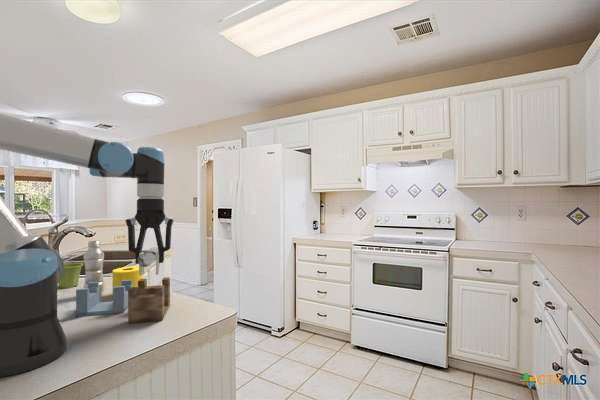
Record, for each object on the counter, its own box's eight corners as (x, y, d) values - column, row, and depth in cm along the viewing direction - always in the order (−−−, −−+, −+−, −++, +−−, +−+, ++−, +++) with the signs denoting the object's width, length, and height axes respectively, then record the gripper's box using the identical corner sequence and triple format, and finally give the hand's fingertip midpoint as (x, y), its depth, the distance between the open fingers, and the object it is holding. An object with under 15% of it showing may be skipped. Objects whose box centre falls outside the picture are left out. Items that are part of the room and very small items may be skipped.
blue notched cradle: (123, 312, 94) (123, 286, 94) (76, 316, 91) (76, 289, 91) (132, 303, 103) (132, 279, 103) (89, 306, 100) (89, 282, 100)
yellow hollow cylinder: (118, 300, 106) (118, 273, 106) (108, 294, 113) (108, 269, 113) (147, 293, 114) (147, 268, 114) (136, 288, 120) (136, 265, 120)
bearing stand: (170, 305, 100) (170, 277, 100) (162, 320, 88) (162, 287, 88) (140, 308, 98) (140, 278, 98) (128, 323, 86) (128, 290, 86)
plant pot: (82, 282, 131) (82, 262, 131) (83, 286, 123) (84, 265, 123) (54, 285, 125) (54, 264, 125) (54, 291, 117) (54, 268, 117)
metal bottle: (92, 298, 108) (92, 242, 108) (78, 296, 110) (78, 242, 110) (108, 293, 114) (108, 240, 114) (95, 291, 116) (95, 239, 116)
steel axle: (152, 266, 88) (152, 252, 88) (137, 267, 87) (137, 253, 87) (160, 259, 99) (161, 247, 99) (147, 259, 98) (147, 247, 98)
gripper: (181, 198, 99) (180, 270, 99) (124, 198, 95) (123, 272, 94) (178, 198, 92) (177, 275, 91) (115, 197, 87) (114, 278, 87)
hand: (149, 273), depth 93 cm, fingers closed on steel axle, 4 cm apart
